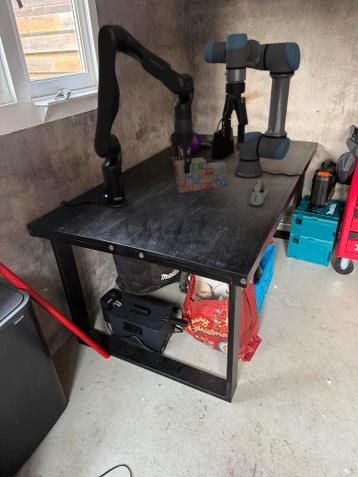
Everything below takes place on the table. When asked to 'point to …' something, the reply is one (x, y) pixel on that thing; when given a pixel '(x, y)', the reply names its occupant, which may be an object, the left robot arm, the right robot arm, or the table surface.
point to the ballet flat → (258, 193)
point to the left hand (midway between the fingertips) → (185, 170)
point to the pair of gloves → (207, 141)
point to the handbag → (222, 143)
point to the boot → (174, 150)
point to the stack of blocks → (200, 175)
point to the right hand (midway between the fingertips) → (233, 139)
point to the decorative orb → (195, 143)
